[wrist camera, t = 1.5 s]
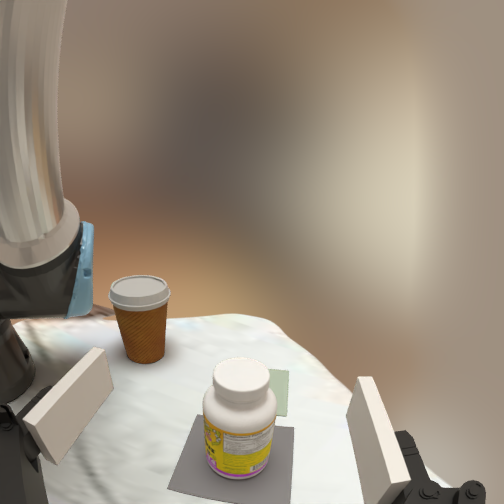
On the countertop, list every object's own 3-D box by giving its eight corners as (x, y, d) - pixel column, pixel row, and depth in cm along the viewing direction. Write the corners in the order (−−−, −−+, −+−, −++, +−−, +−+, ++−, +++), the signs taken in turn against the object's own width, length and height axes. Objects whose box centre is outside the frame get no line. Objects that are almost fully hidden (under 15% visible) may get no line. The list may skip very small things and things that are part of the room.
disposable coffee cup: (181, 364, 43) (178, 293, 40) (122, 374, 39) (109, 301, 35) (165, 334, 51) (162, 271, 48) (114, 341, 47) (105, 277, 43)
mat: (208, 406, 35) (208, 405, 35) (224, 363, 44) (224, 363, 44) (286, 416, 34) (286, 415, 34) (288, 371, 43) (288, 370, 43)
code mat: (167, 488, 22) (167, 488, 21) (197, 414, 33) (197, 414, 33) (289, 508, 20) (289, 508, 20) (294, 427, 32) (294, 427, 32)
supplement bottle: (208, 435, 30) (205, 348, 26) (265, 437, 30) (277, 351, 27) (203, 480, 23) (196, 396, 20) (269, 482, 24) (287, 399, 20)
